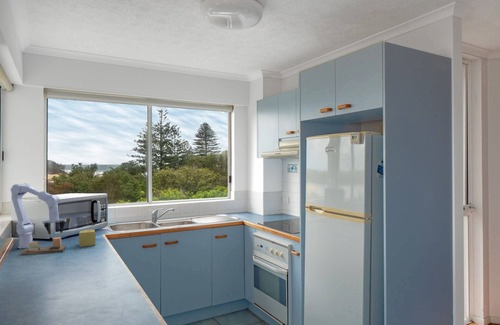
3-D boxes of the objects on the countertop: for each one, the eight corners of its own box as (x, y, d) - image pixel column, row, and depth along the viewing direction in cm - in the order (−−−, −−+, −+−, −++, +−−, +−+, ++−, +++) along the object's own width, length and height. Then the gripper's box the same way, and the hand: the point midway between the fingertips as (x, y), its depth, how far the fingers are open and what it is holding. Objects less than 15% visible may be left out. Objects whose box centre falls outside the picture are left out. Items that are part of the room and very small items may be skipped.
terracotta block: (54, 246, 241) (54, 237, 241) (61, 246, 243) (61, 237, 243) (52, 248, 237) (52, 239, 237) (60, 247, 238) (59, 238, 238)
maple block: (30, 251, 229) (30, 241, 229) (38, 251, 230) (38, 241, 230) (28, 253, 225) (28, 243, 224) (36, 252, 226) (36, 242, 226)
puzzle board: (25, 250, 231) (25, 248, 231) (65, 247, 238) (65, 245, 238) (20, 255, 220) (20, 252, 220) (62, 251, 228) (62, 249, 228)
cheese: (79, 243, 250) (79, 230, 250) (95, 242, 255) (95, 228, 255) (78, 247, 241) (78, 232, 241) (95, 245, 245) (95, 231, 245)
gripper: (67, 211, 243) (68, 230, 243) (45, 214, 241) (46, 233, 241) (63, 213, 236) (65, 232, 236) (40, 215, 234) (42, 235, 234)
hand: (55, 233), depth 238 cm, fingers open, 7 cm apart
